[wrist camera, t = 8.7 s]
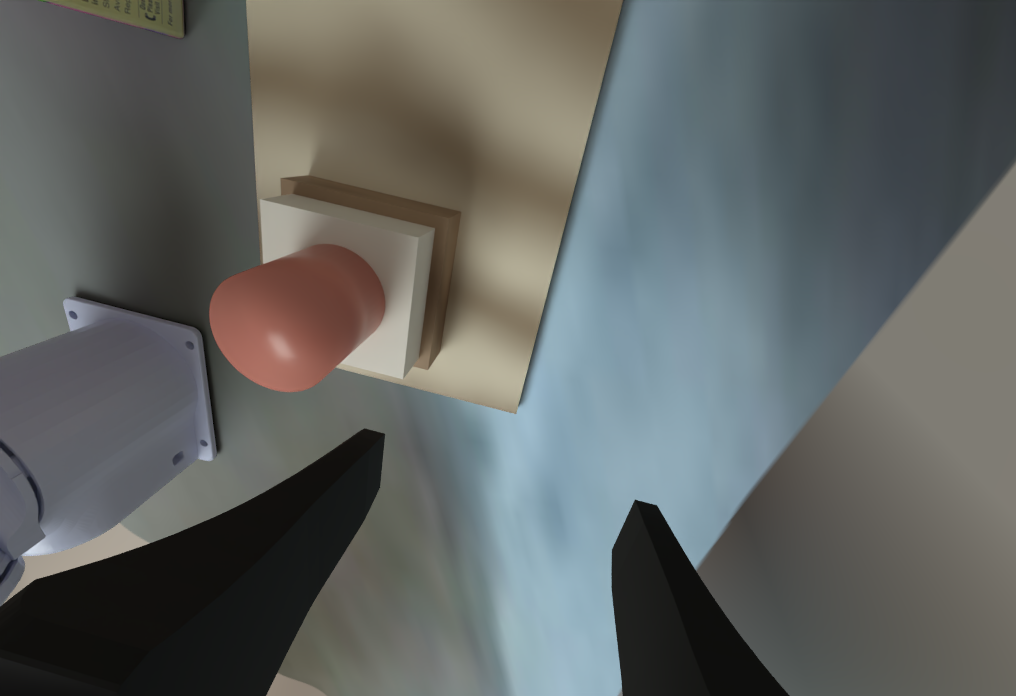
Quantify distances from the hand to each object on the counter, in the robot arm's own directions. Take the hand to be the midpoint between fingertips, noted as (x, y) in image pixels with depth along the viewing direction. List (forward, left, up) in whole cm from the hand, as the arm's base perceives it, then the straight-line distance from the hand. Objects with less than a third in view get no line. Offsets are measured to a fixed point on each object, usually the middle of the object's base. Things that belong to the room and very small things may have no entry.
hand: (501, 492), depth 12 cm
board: (+8, +7, -10) cm, 15 cm away
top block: (+2, +8, -8) cm, 11 cm away
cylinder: (+2, +8, -6) cm, 10 cm away
